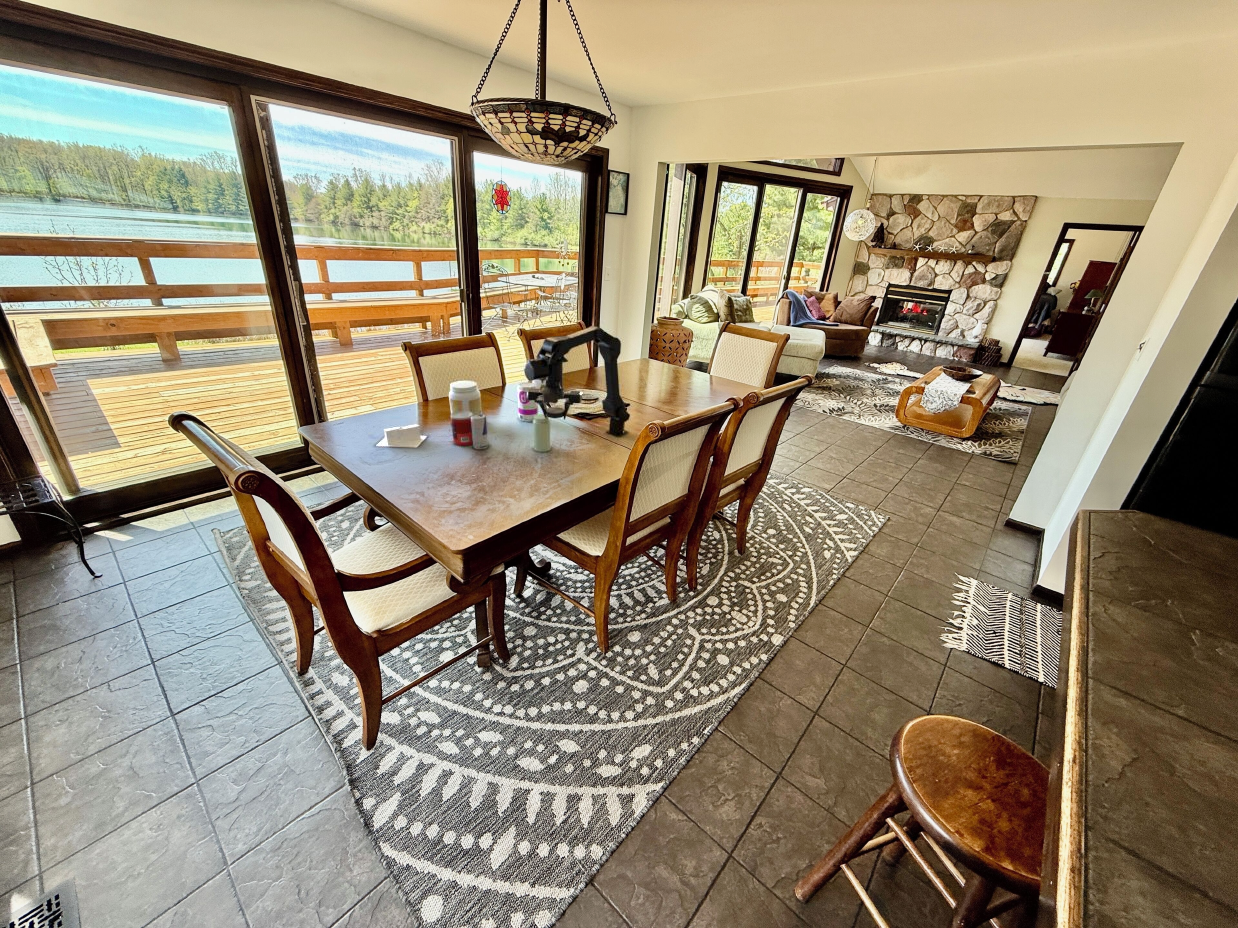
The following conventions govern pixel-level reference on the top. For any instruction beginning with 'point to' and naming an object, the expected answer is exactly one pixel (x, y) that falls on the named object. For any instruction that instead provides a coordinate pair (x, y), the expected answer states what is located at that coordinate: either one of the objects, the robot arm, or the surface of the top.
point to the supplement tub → (465, 397)
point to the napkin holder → (402, 437)
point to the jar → (541, 433)
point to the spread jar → (540, 383)
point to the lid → (554, 412)
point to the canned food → (462, 428)
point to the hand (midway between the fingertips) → (555, 418)
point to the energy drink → (479, 431)
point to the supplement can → (526, 403)
